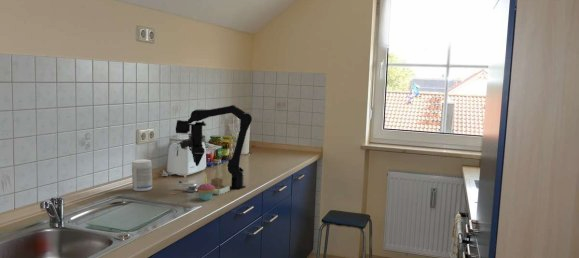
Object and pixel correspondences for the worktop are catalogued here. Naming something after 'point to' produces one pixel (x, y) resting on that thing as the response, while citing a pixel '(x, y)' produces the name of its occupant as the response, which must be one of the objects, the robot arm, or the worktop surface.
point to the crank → (187, 184)
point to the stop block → (217, 183)
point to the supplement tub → (142, 175)
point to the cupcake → (206, 190)
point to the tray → (222, 190)
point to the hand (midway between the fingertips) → (195, 164)
